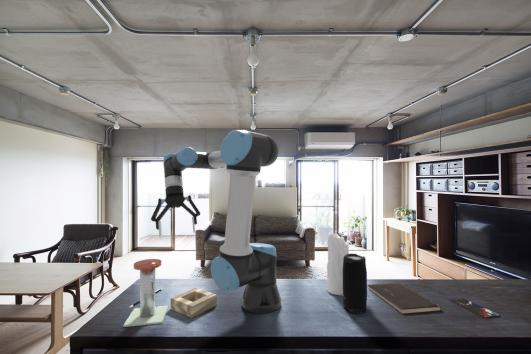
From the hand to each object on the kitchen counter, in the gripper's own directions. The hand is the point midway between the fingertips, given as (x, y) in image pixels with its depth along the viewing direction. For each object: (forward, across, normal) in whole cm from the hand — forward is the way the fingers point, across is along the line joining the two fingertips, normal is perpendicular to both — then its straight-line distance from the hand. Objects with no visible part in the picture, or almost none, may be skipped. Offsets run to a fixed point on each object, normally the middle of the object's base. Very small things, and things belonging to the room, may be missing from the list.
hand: (177, 234), depth 113 cm
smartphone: (+48, -104, +30) cm, 118 cm away
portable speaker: (+40, -61, +20) cm, 76 cm away
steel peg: (+28, +12, +8) cm, 31 cm away
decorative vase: (+35, -65, +4) cm, 74 cm away
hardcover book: (+42, -84, +17) cm, 96 cm away
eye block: (+29, -4, +4) cm, 29 cm away
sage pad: (+28, +12, +8) cm, 32 cm away
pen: (+23, +14, -8) cm, 28 cm away
